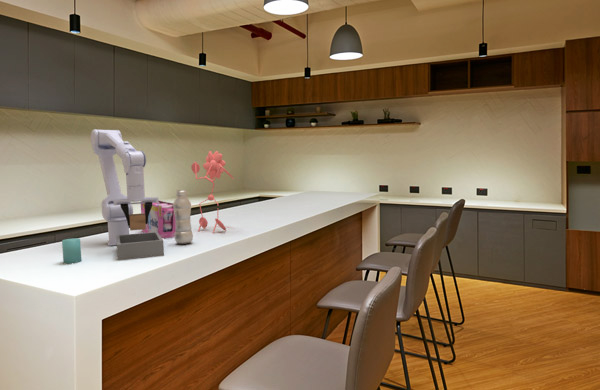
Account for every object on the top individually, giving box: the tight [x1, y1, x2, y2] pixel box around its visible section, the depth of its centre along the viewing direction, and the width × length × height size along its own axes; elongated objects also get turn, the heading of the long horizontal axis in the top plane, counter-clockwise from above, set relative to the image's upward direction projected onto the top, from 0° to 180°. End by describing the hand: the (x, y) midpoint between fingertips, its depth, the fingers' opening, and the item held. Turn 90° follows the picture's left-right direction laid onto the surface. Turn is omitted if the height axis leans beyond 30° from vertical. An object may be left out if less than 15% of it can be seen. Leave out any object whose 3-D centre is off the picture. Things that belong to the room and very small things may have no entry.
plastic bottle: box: [172, 189, 194, 245], centre depth 154 cm, size 6×7×20 cm
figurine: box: [190, 150, 235, 235], centre depth 182 cm, size 15×26×35 cm, turn 55°
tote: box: [116, 232, 165, 261], centre depth 142 cm, size 18×14×5 cm
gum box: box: [140, 199, 176, 239], centre depth 175 cm, size 24×8×14 cm, turn 37°
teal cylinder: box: [61, 237, 83, 265], centre depth 130 cm, size 5×5×7 cm
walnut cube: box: [129, 213, 146, 232], centre depth 145 cm, size 5×5×5 cm
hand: (137, 224), depth 145 cm, fingers closed on walnut cube, 5 cm apart
